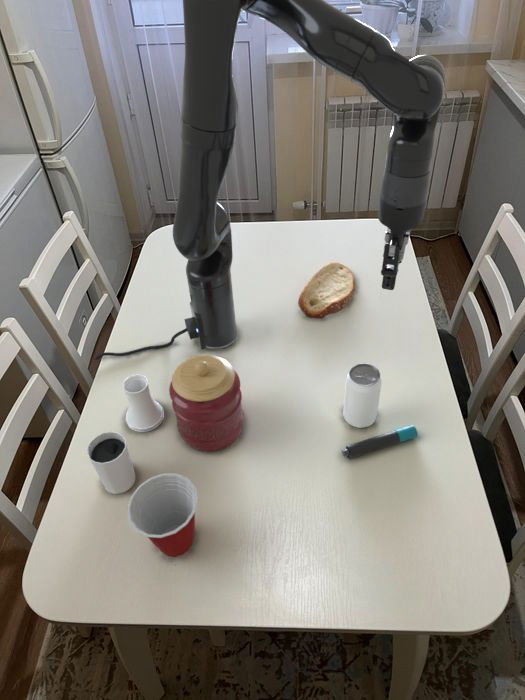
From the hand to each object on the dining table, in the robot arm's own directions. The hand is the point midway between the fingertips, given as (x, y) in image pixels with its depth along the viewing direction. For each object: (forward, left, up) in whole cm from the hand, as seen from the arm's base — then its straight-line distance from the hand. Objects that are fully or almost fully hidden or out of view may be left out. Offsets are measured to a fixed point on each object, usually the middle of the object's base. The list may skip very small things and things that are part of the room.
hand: (391, 274), depth 100 cm
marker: (-10, -18, -24) cm, 32 cm away
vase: (-50, +4, -24) cm, 56 cm away
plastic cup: (-50, -24, -24) cm, 61 cm away
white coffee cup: (-57, -9, -24) cm, 63 cm away
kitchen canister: (-38, -3, -24) cm, 45 cm away
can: (-10, -11, -24) cm, 28 cm away
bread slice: (0, +28, -24) cm, 37 cm away
